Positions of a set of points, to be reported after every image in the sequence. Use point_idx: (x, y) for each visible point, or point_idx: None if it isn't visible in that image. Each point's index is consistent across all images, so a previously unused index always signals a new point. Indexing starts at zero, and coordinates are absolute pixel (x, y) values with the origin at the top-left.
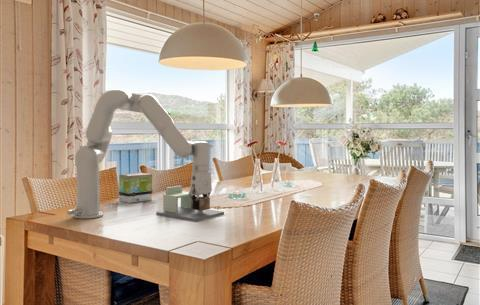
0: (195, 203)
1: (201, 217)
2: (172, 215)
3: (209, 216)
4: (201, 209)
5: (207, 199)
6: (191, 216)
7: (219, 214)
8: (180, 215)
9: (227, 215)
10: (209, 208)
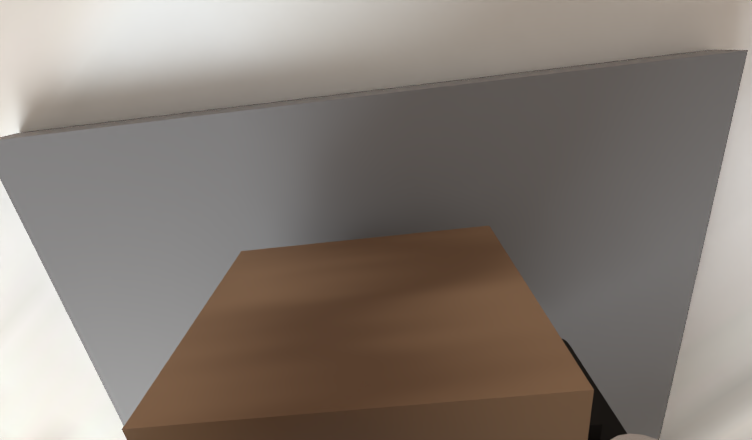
0: (600, 404)
1: (593, 81)
2: (653, 435)
3: (387, 91)
4: (492, 236)
5: (266, 386)
6: (616, 242)
7: (125, 122)
8: (643, 369)
9: (9, 28)
10: (246, 253)
